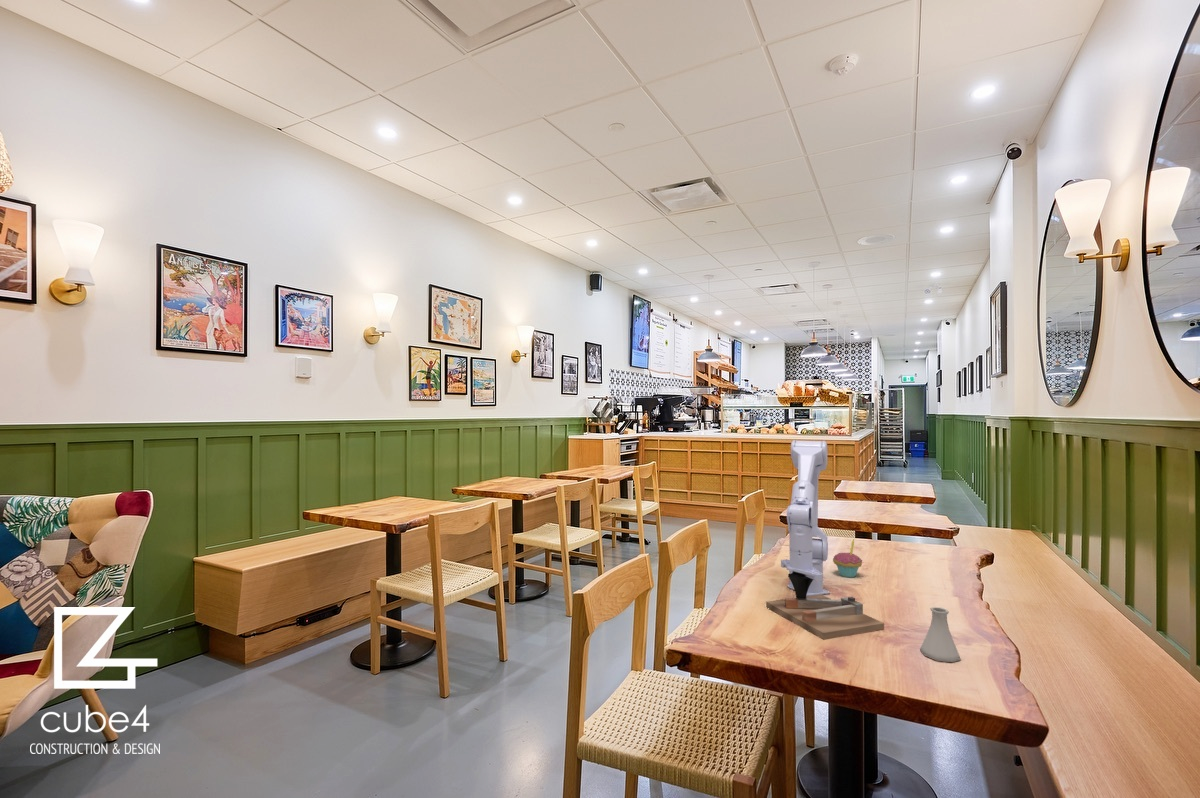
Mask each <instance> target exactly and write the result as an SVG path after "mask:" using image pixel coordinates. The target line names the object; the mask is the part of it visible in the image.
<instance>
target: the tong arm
mask: <svg viewBox="0 0 1200 798" xmlns="http://www.w3.org/2000/svg"><path fill="white" fill-rule="evenodd" d="M784 599H785V607H786V608H816V609H825V608H831V607H838V606H842V601H841V599H832V598H830V599H802V598H796V597H784Z"/></svg>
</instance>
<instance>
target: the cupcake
mask: <svg viewBox="0 0 1200 798" xmlns="http://www.w3.org/2000/svg"><path fill="white" fill-rule="evenodd" d="M854 540H855V538H853V540H852V541H851V545H850V550H849V552H839V553H837V554H835V555H834V556H833V558H832V562H833V564H834V565H836V567H837V570H838V574H839V575H840V576H842V577H844V578H855V577H857V573H858V570H859V568H861V567H862V564H863V560H862V559H861V558H860V556H858V555H857V554H855V553H853V552H854V551H853V550H854V545H855V541H854Z"/></svg>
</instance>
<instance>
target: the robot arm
mask: <svg viewBox="0 0 1200 798" xmlns="http://www.w3.org/2000/svg"><path fill="white" fill-rule="evenodd" d="M790 457H791V460H792V464H793V466H794V468H795V469H797V481H795V482H794V483H793V485H792V490H791V497H790V498H791V500H790V505H788V506H787V508H786V521H787V531H788V533H789V535H788V536H789V537H788V538H789V539H788V540H789V541H788V542H789V545H788V546H789V558H786V559H785V558H783V559H780V568H784V569H786V570H787V571H789V572H788V574H787V576H788V578H789V584H787V585H786V587H787V588H789V589H791V590H793V591H794V593H795V598H802V599H806V596H813V595H820V594H821V595H828V594H830V593H831V592H830V591H829V590H826V589H824V567H823V566H824V563H823V562H827V560H828V558H829V544H828V536H827V533H826V532H824V530H823V529H821V528H820V527H819V526H818V524H819V523H818V521H819V519H818V518H819V516H818V515H819V513H818V512H819V509H818V508H819V507H818V506H819V478H820V475H821V474H820V473H821V472H822V471H825V470H827V466H828V443H827V442H826V440H796V439H794V440H792V441H791V443H790Z"/></svg>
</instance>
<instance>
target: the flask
mask: <svg viewBox="0 0 1200 798" xmlns="http://www.w3.org/2000/svg"><path fill="white" fill-rule="evenodd" d="M930 612H931V621H930V626H929V627H928V630H927V633H926V636H925V638H924V639H923V642H922V644H921V646H920V648H919V650H920V652H921V653H922V654H923V656H925V657H927V658H930V659H931V660H935V661H937V662H946V663H947V662H948V663H954V662H957V661H961V660H962V658H961V656H960V653H959V651H958V649H957V646H956V645H955V644H956V643H955V641H954V639H953V636H952V634H951V631H950V627H949V624H948V615H949V613H950V612H949V610H948V609H947V608H944V607H938V606H932V607H930Z"/></svg>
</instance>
